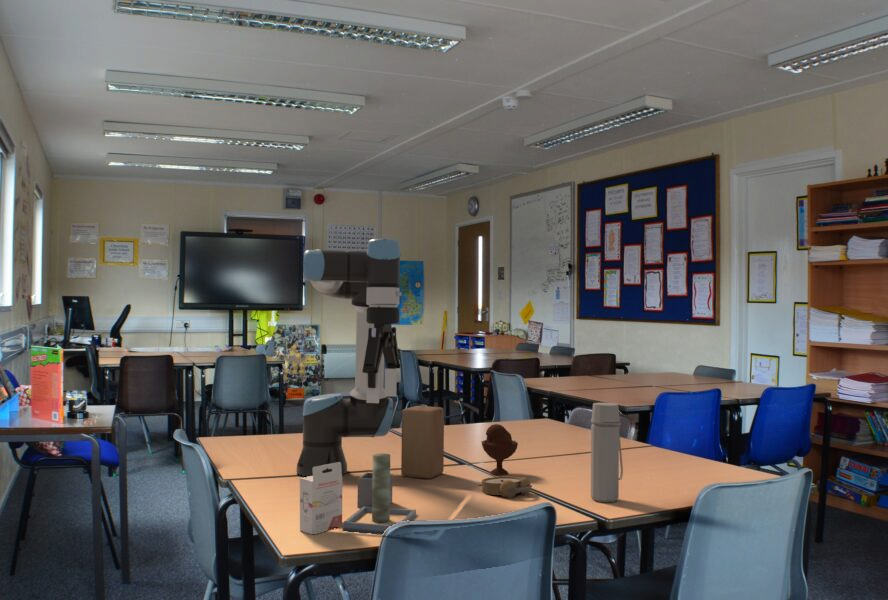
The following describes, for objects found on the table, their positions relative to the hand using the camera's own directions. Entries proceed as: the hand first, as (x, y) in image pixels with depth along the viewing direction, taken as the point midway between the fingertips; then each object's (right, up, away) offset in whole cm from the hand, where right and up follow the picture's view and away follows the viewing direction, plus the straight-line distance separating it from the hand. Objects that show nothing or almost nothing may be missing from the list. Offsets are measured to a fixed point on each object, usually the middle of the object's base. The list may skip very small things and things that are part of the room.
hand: (382, 399), depth 168 cm
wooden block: (+8, -30, +52) cm, 60 cm away
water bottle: (+57, -30, +25) cm, 69 cm away
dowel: (0, -28, -1) cm, 28 cm away
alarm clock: (+31, -30, +31) cm, 53 cm away
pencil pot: (-3, -29, +13) cm, 32 cm away
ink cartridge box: (-13, -29, -4) cm, 32 cm away
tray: (0, -28, -1) cm, 28 cm away
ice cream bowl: (+31, -30, +55) cm, 70 cm away
